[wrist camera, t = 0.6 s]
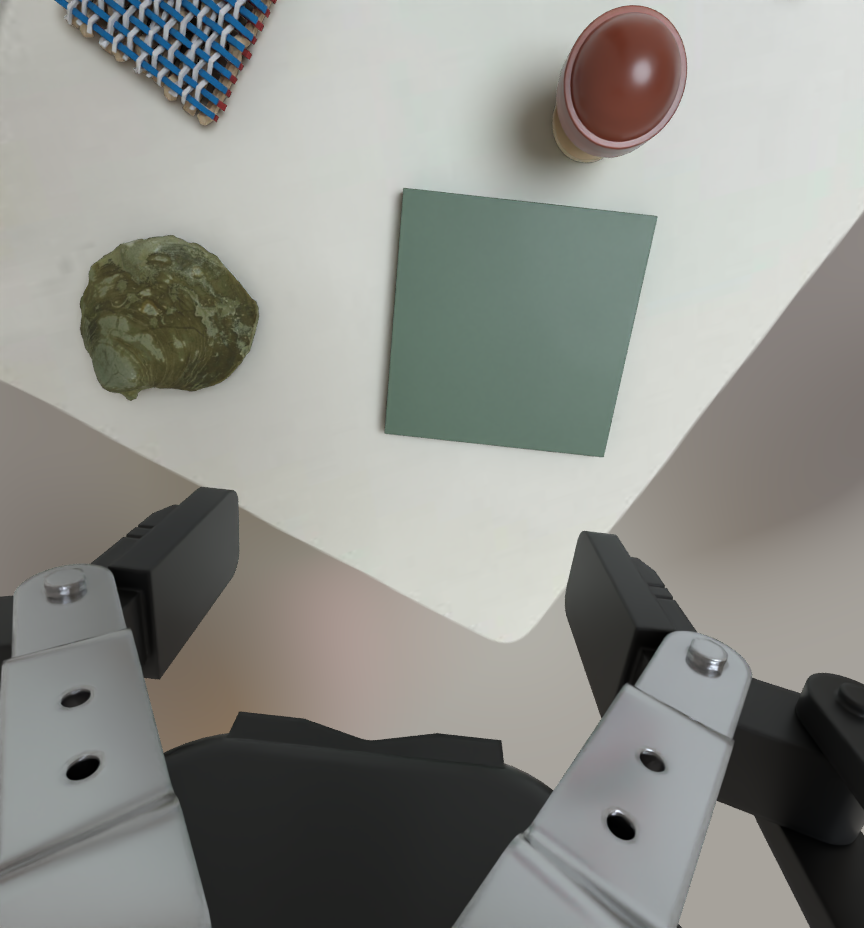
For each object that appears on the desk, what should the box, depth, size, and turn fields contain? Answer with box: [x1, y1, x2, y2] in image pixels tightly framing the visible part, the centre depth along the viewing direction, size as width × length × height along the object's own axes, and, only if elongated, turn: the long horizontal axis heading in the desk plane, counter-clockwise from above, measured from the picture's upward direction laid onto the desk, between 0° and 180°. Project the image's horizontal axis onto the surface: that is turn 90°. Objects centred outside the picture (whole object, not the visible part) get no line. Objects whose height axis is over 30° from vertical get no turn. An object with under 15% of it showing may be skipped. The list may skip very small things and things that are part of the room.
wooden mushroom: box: [552, 5, 687, 163], centre depth 28 cm, size 6×6×9 cm
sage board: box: [385, 188, 657, 457], centre depth 36 cm, size 16×16×1 cm
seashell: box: [80, 235, 259, 401], centre depth 35 cm, size 10×7×10 cm
